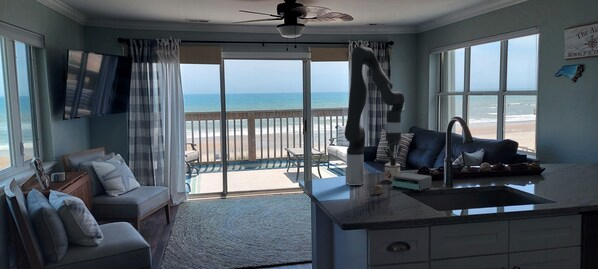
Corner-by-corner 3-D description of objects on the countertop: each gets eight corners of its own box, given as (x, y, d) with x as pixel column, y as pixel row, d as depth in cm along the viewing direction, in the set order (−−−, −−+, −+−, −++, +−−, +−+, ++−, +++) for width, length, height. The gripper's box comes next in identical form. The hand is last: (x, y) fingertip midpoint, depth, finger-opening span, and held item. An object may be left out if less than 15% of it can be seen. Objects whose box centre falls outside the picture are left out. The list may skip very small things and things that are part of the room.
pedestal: (372, 193, 209) (372, 185, 209) (377, 192, 212) (377, 184, 211) (379, 194, 206) (379, 187, 206) (383, 193, 209) (383, 185, 209)
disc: (401, 184, 221) (401, 181, 221) (408, 182, 225) (408, 179, 225) (412, 186, 216) (412, 182, 216) (418, 184, 221) (418, 180, 220)
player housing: (392, 186, 224) (392, 175, 223) (404, 183, 232) (404, 172, 232) (420, 191, 212) (420, 179, 212) (431, 187, 221) (431, 176, 220)
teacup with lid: (381, 179, 245) (381, 159, 244) (395, 178, 248) (394, 158, 247) (392, 183, 233) (392, 162, 232) (406, 181, 236) (406, 161, 235)
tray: (392, 185, 222) (392, 181, 222) (404, 182, 231) (404, 177, 230) (417, 189, 212) (417, 184, 211) (429, 186, 220) (429, 181, 220)
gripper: (394, 130, 216) (394, 163, 217) (379, 131, 207) (379, 166, 208) (407, 130, 210) (406, 164, 212) (392, 132, 201) (392, 168, 203)
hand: (393, 165), depth 210 cm, fingers closed
